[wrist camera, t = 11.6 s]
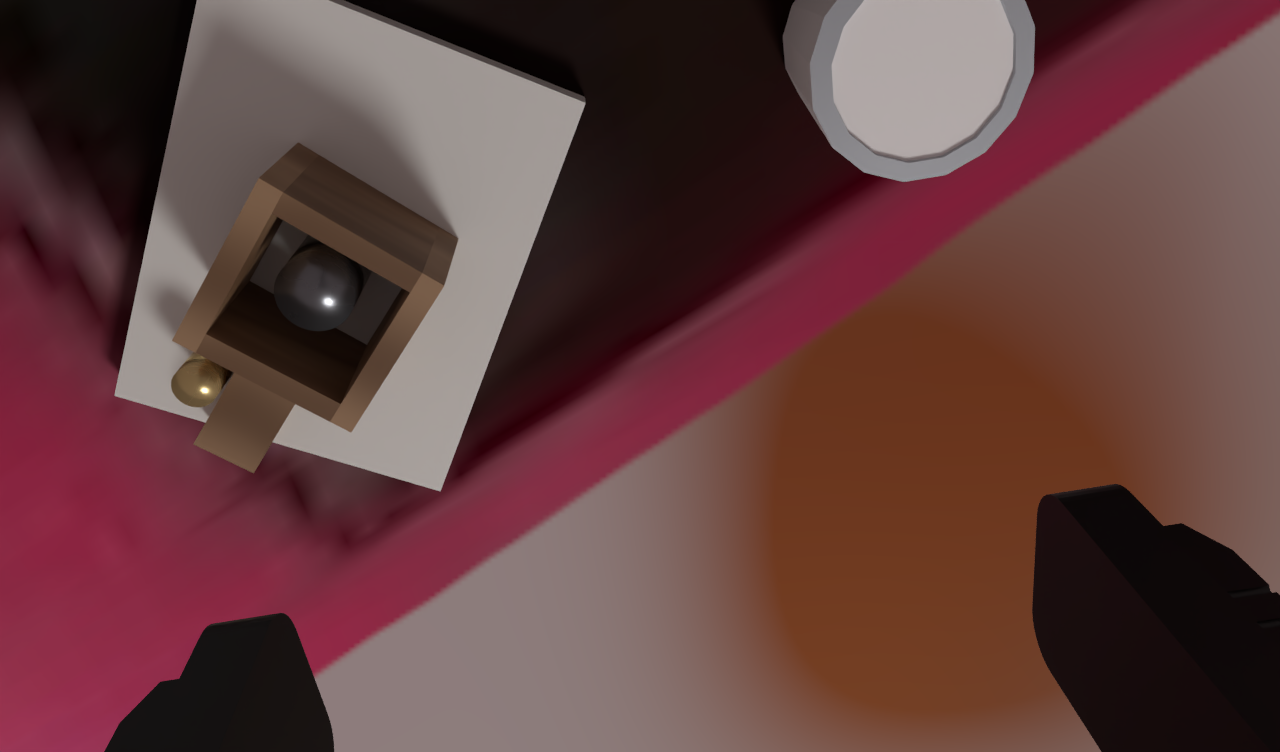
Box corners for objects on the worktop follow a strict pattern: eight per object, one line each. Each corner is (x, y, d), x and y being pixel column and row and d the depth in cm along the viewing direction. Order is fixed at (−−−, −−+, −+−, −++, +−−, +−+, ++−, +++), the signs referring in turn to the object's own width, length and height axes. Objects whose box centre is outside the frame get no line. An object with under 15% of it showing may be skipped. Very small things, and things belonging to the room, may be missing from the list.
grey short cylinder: (756, 132, 37) (797, 180, 30) (775, -70, 34) (825, -64, 27) (934, 138, 37) (1011, 186, 31) (969, -60, 34) (1062, -52, 28)
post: (312, 211, 35) (284, 246, 32) (383, 236, 36) (363, 273, 32) (294, 275, 36) (265, 316, 33) (364, 298, 37) (343, 341, 33)
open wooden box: (298, 142, 34) (258, 178, 30) (458, 238, 36) (444, 286, 32) (161, 394, 38) (107, 460, 33) (313, 469, 40) (282, 541, 35)
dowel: (199, 334, 37) (175, 361, 35) (241, 347, 37) (221, 375, 35) (190, 370, 38) (166, 399, 35) (232, 382, 38) (212, 412, 36)
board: (218, -50, 33) (207, -49, 31) (584, 96, 35) (585, 102, 34) (126, 382, 39) (114, 395, 38) (443, 476, 42) (440, 491, 41)
